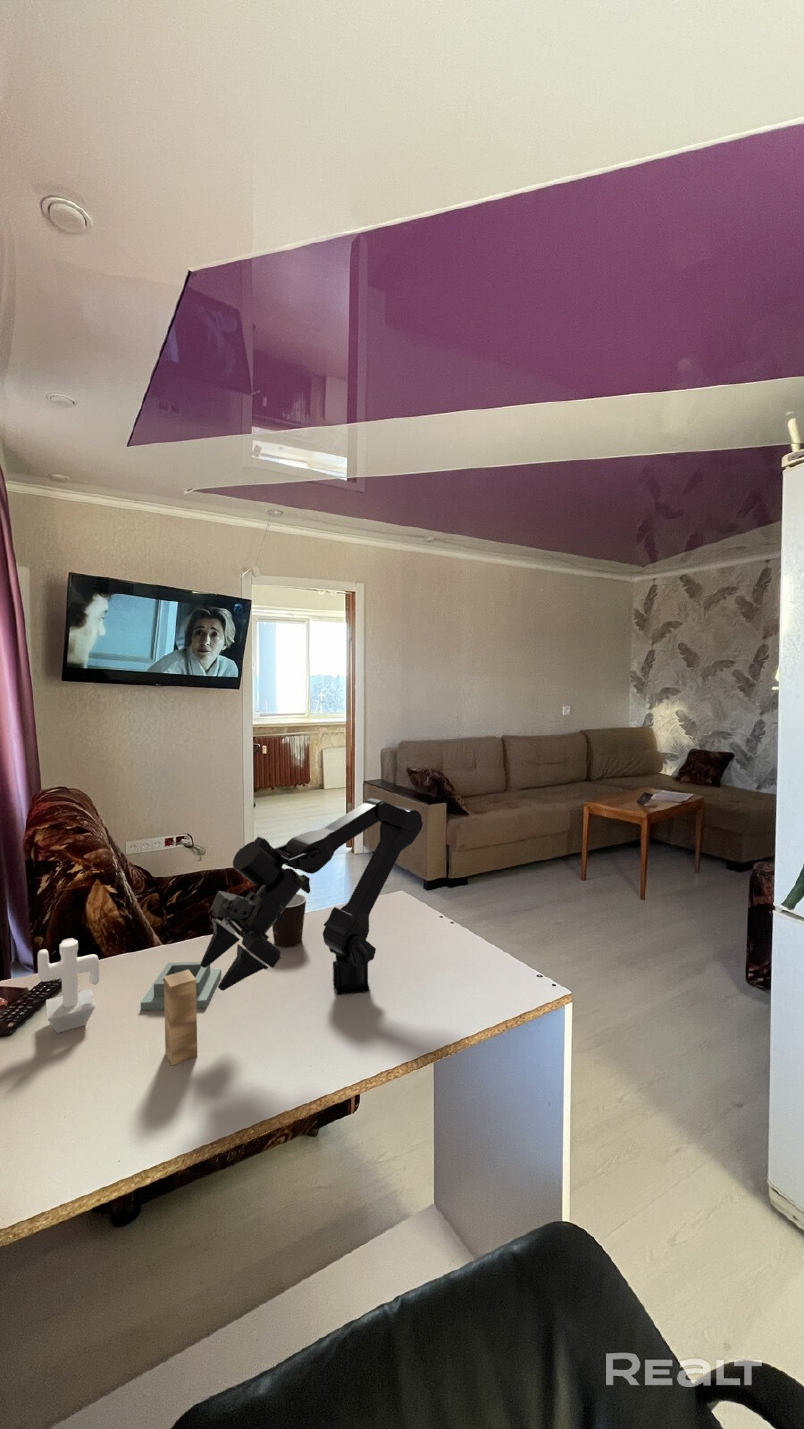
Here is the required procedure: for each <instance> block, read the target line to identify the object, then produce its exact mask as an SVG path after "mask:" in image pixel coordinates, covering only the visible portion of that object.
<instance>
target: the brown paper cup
mask: <svg viewBox="0 0 804 1429" xmlns="http://www.w3.org/2000/svg"><path fill="white" fill-rule="evenodd" d="M306 905H307V897H306V896H305V895H303V894H300V893H296V895H295V896H294V897H293V899H292V900H291V901H290V903H289V904H288V905H287V907H286V908H285V909H284V910H283V912H282V913H281V915H283V916H284V918H283V920H282V921H281V922H280V921H279V920H278V919H277V920H276V921H275V922H274V924H273V925H272V926H271V928H272V936H273V945H274V946H275V947H277V948H278V947H279V948H285V949H286V948H293V947H296V946H298V945H300V944H301V943H302V940H303V932H304V930H303V929H304V923H305V913H306ZM281 907H282V906H281ZM282 908H283V907H282Z"/></svg>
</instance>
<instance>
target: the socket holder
mask: <svg viewBox="0 0 804 1429" xmlns="http://www.w3.org/2000/svg"><path fill="white" fill-rule="evenodd" d="M200 964H201V961H181V962H180V961H179V962H174V961H173V962H167V963H166V965H165V967H164V968H163V969H162V970H161V972H160V973H159V975H158V976H157V977H156V979H155V980H154V982H153V984H152V985H151V987H150V988H149V990H148V991H147V992H146V994H145V995H144V997H143V998H142V1000H141V1001H140V1011H158V1010H162V1011H163V1010H164V1011H165V1007H164V976H167V975H171V974H174V973H178V972H181V971H185V970H188V969H189V970H190V972H191V973H192V974H193V976H194V977H195V979H196V1007H197V1009H207V1007H208V1006H209V1003H210V1001H211V999H212V997H213V994H214V993H215V991H216V988H217V987H218V985H219V983H220V981H221V977H222V968H221V967H220V968H211V964H210V965H209V966H207V967H206V968H204V967H202V966H201V965H200Z"/></svg>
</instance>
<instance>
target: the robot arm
mask: <svg viewBox="0 0 804 1429" xmlns="http://www.w3.org/2000/svg"><path fill="white" fill-rule="evenodd" d="M422 819H423V818H422V815H421V813H420V812H419V811H418V810H416V809H413V808H408V807H403V806H399V805H393V804H390V803H388V802H387V801H385V800H383V799H378V798H372V797H371V798H368V799H366V800H365V801H364V802H363V803H361V805H358V806H357V807H355V808H354V809H352V810H350V811H349V812H347V813H346V814H344V815H342V816H341V817H339V818H338V819H336V820H334V821H332V822H330V823H329V824H328V825H326V826H324V827H322V828H320V829H317V830H311V831H306V832H304V833H300V834H299V835H296V836H293V837H292V838H290V839H289V840H288V841H287V842H286V843H285V844H282V845H280V846H277V847H272V845H271V844H270V842H269V841H267V839H265V838H264V837H262V836H257V837H256V838H255V839H254V840H253V841H251V842H248V843H246V845H243V847H242V848H239V849H238V851H237V852H236V853H235V856H234V857H233V860H232V867H233V868H234V869H235V870H236V871H237V872H238V873H239V874H241V875H242V876H243V877H244V878H246V879H247V880H248V881H249V882H251V883H252V885H254V886H255V887H260V888H259V890H258V891H257V892H256V893H255V892H254V891H251V892H248V894H247V895H246V896H245V897H244V896H240V895H238V894H234V893H230V892H225V891H221V890H218V891H217V893H216V896H215V898H214V900H213V902H212V905H211V907H210V910H211V911H212V912H211V915H212V916H213V917H211V918H212V919H211V922H212V929H213V933H212V936H211V938H210V941H209V944H208V945H207V948H206V951H205V953H204V955H203V957H202V959H201V961H200V962H201V964H200V965H201V966H202V967H204V968H206V967H207V966H209V965H210V966H211V964H213V963H214V962H215V961H216V960H218V959H219V957H221V956H222V955H223V954H225V953H226V952H227V951H229V950H230V949H231V948H232V947H233V946H234V945H236V944H237V946H236V947H237V948H236V957H235V959H234V960H233V961H232V963H231V965H230V966H229V968H228V969H227V970H226V972H225V974H224V976H223V977H222V979H220V981H219V983H218V985H217V988H218V989H219V990H221V991H222V992H223V991H225V990H227V989H229V988H231V987H233V986H234V985H236V984H237V983H239V982H241V981H243V980H244V979H245V980H246V979H247V977H250V976H252V975H254V974H256V973H258V972H260V971H263V970H266V971H267V970H268V969H269V967H270V968H271V969H274V968H275V967H276V966H277V964H278V963H279V962H280V960H281V959H282V958H281V950H280V949H279V948H278V946H276V945H275V944H274V943H272V942H271V941H270V940H268V939H269V938H270V936H269V935H267V933H268V931H269V930H270V929H271V928H272V925H273V924H274V922H275V921H276V920H277V919H278V920H279V921H280V922H281V921H282V920H283V918H284V916H283V915H281V913H282V912H283V910H284V909H285V908H286V907H287V905H288V904H289V903H290V901H291V900H292V899H293V897H294V896H295V895H296V894H298V892H299V891H300V890H302V891H303V892H305V893H306V894H310V893H311V885H310V880H311V878H310V877H308V876H307V875H305V874H299V873H298V872H296V870H299V871H301V872H304V873H307V874H315V873H317V872H319V871H320V870H322V869H323V868H324V867H325V866H326V865H327V864H329V862H330V861H331V860H332V858H333V856H334V854H335V852H336V851H338V849H339V848H341V847H342V846H344V844H346V843H348V842H349V841H351V840H352V839H354V838H355V837H357V836H359V835H361V834H362V833H364V832H365V831H366V830H368V829H369V828H371V827H372V826H374V825H375V824H377V823H378V822H380V826H379V841H378V844H377V845H376V848H375V849H374V851H373V853H372V855H371V858H369V861H368V863H367V865H366V867H365V869H364V871H363V873H362V875H361V876H360V878H359V880H358V882H357V884H356V887H355V888H354V891H353V892H352V894H351V896H350V898H349V899H348V902H347V903H346V904H345V905H344V906H342V907H340V908H338V907H336V906H335V907H334V906H333V908H332V910H331V912H330V914H329V917H328V918H327V920H326V921H325V922H324V923H323V926H324V928H323V931H322V937H323V942H324V945H326V946H327V947H328V949H329V952H330V953H331V954H334V955H335V960H334V961H332V985H333V987H334V988H335V992H336V994H337V995H349V994H358V993H359V994H360V993H369V992H370V985H369V962H371V961H373V960H374V959H375V955H376V951H377V948H376V947H375V946H374V945H372V944H371V943H370V942H369V941H368V940H367V938H368V935H369V933H370V914H371V912H372V910H373V908H374V906H375V903H376V902H377V900H378V898H379V897H380V894H381V892H382V890H383V887H384V886H385V884H386V881H387V880H388V878H389V876H390V874H391V872H392V869H393V867H394V866H395V863H396V861H397V859H398V858H399V856H400V854H401V852H402V851H404V849H406V848H408V847H409V846H410V845H412V844H413V843H414V841H415V840H416V838H417V837H418V836H419V834H420V832H421V831H422V828H423V825H424V824H423V820H422ZM284 865H285V866H286V867H288V868H283V866H284ZM294 869H295V870H294ZM281 906H282V907H283V908H282V907H281ZM235 933H236V934H237V935H238V936H239V937H241V938H242V941H241V944H239V943H238V942H239V941H240V940H241V939H240V938H239V937H238V936H237V935H236V934H235ZM268 966H269V967H268Z"/></svg>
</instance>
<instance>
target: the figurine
mask: <svg viewBox="0 0 804 1429" xmlns="http://www.w3.org/2000/svg"><path fill="white" fill-rule="evenodd" d="M78 941H79V940H77V939H75V938H73V937H71V938H66V939H63V940H61V943H60V944H58V945H59V946H58V947H59V955H60V960H59V961H57V962H52V963H50V959H49V958H50V957H49V951H48V950H47V949H46V948H45V949H40V950H39V951H38V952H37V973H38V979H39V981H40V982H43V983H44V982H50V981H53V980H54V981H55V980H58V979H61V994H62V995H61V996H57V997H52V998H49V999H48V998H47V999H46V1000H45V1006H46V1016H47V1021H48V1022H49V1024H50V1025H51V1026H52V1027H53V1029H54V1030H55V1031H56V1033H57V1034H60V1033H63V1032H65V1031H67V1032H68V1031H70V1030H73V1029H76V1028H80V1027H84V1026H86V1025H87V1024H88V1022H89V1019H90V1018H91V1015H92V1014H93V1012H94V1010H95V1008H96V1003H95V999H94V995H93V990H92V988H91V987H90V988H87V989H82V990H80V991H79V988H78V985H79V984H78V981H79V980H78V977H79V976H78V975H79V974H83V973H88V976H89V984H91V985H93V986H95V985H97V984H99V982H100V960H99V957H98V955H97V954H96V953H95V954H93V953H92V954H88V955H84V956H78V950H79V942H78Z"/></svg>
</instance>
